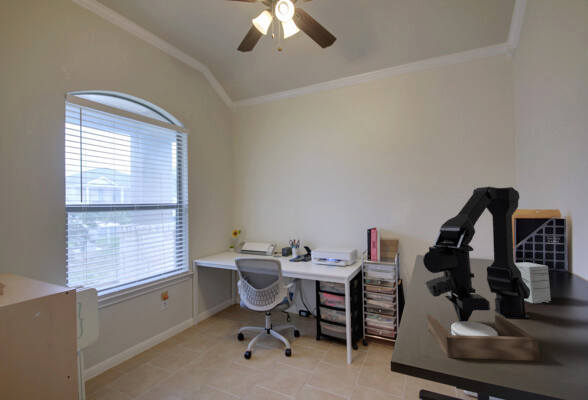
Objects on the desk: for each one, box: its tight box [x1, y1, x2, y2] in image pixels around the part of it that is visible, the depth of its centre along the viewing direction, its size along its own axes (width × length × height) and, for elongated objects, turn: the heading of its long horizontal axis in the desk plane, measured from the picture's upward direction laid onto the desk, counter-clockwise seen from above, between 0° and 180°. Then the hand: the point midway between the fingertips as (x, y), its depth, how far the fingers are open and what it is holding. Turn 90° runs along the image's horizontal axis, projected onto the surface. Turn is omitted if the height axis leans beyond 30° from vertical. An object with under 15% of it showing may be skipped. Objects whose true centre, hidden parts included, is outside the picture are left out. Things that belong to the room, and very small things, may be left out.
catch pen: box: [426, 314, 541, 362], centre depth 67 cm, size 18×14×4 cm
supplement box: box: [514, 261, 552, 304], centre depth 97 cm, size 7×7×13 cm
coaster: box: [450, 320, 499, 336], centre depth 69 cm, size 10×10×4 cm
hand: (462, 325), depth 75 cm, fingers closed
